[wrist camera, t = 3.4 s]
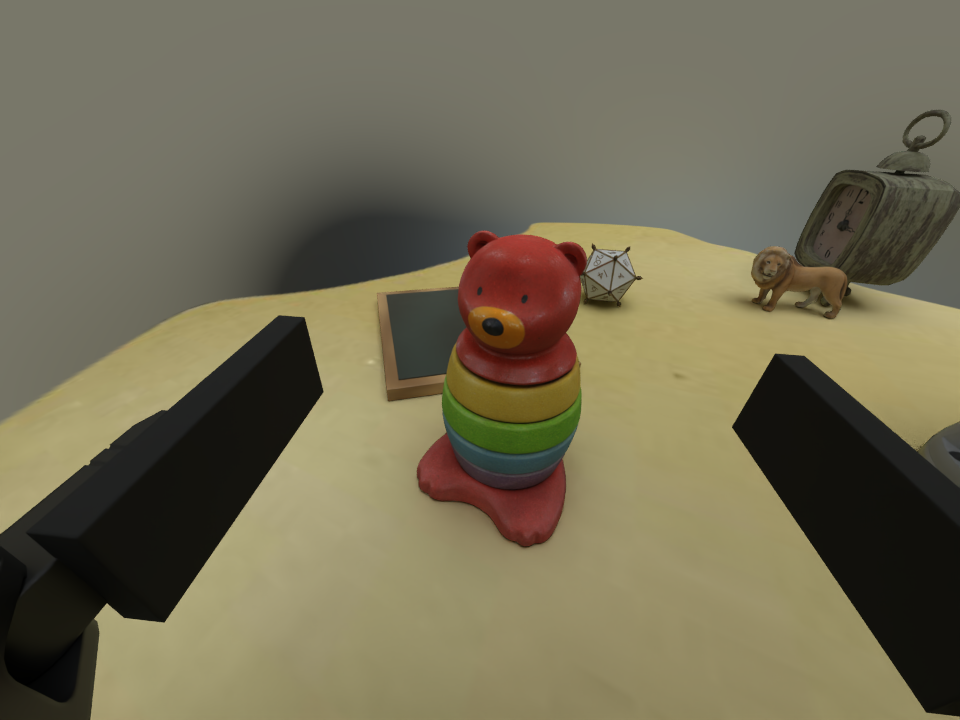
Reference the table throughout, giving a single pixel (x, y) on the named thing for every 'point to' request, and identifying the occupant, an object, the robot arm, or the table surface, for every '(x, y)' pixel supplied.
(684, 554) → the table surface
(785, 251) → the lion figurine
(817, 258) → the tabletop clock
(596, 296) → the game die
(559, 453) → the stacking bear
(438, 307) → the chalkboard
